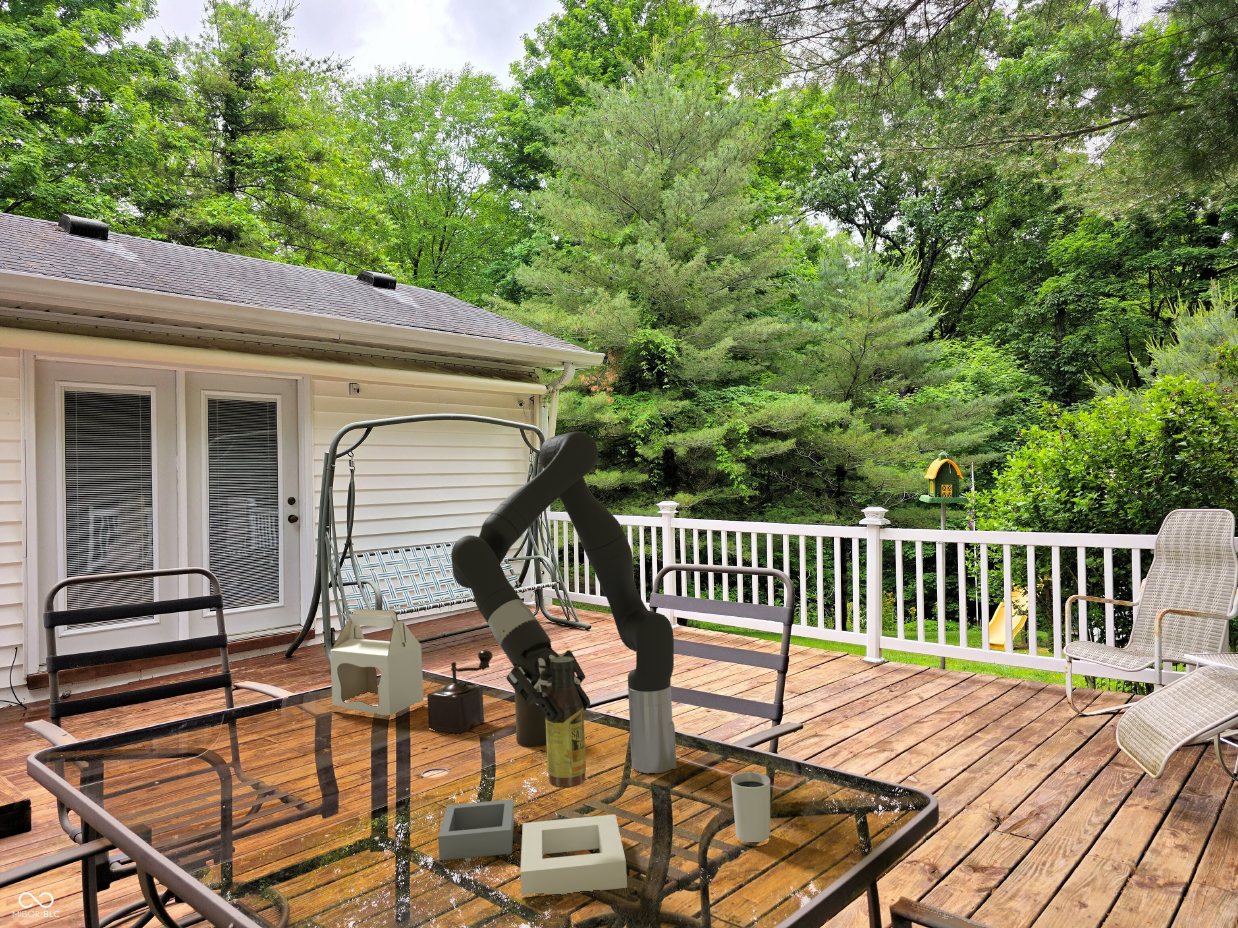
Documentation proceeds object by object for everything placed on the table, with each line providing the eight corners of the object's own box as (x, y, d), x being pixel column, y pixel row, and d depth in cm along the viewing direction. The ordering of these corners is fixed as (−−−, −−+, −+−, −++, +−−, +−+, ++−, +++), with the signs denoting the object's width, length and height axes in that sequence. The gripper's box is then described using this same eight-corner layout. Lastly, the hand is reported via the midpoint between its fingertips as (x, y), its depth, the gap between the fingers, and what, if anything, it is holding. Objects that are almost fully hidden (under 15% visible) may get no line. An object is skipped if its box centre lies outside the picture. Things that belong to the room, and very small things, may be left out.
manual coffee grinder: (462, 735, 186) (459, 663, 186) (427, 730, 191) (424, 660, 191) (498, 716, 200) (495, 648, 200) (465, 712, 205) (462, 646, 205)
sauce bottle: (581, 790, 118) (575, 665, 118) (543, 789, 119) (537, 664, 119) (591, 773, 125) (585, 654, 125) (554, 772, 126) (549, 654, 126)
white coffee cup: (749, 851, 123) (746, 791, 124) (725, 835, 129) (722, 777, 130) (781, 841, 127) (778, 781, 127) (756, 825, 132) (753, 768, 133)
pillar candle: (540, 749, 174) (537, 685, 174) (508, 743, 179) (505, 680, 179) (565, 736, 182) (562, 674, 182) (533, 730, 187) (530, 670, 188)
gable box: (331, 712, 211) (327, 612, 211) (367, 698, 222) (363, 604, 223) (391, 721, 200) (386, 616, 201) (424, 706, 212) (420, 607, 213)
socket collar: (616, 837, 131) (615, 814, 131) (627, 887, 115) (625, 861, 115) (523, 846, 129) (522, 822, 129) (521, 898, 113) (520, 871, 113)
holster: (514, 820, 139) (513, 799, 139) (511, 853, 127) (510, 829, 127) (448, 827, 137) (447, 805, 137) (439, 860, 125) (438, 836, 125)
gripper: (497, 626, 121) (553, 712, 114) (558, 611, 133) (613, 688, 125) (476, 655, 125) (529, 740, 117) (538, 638, 136) (590, 714, 128)
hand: (572, 713), depth 121 cm, fingers closed on sauce bottle, 6 cm apart
